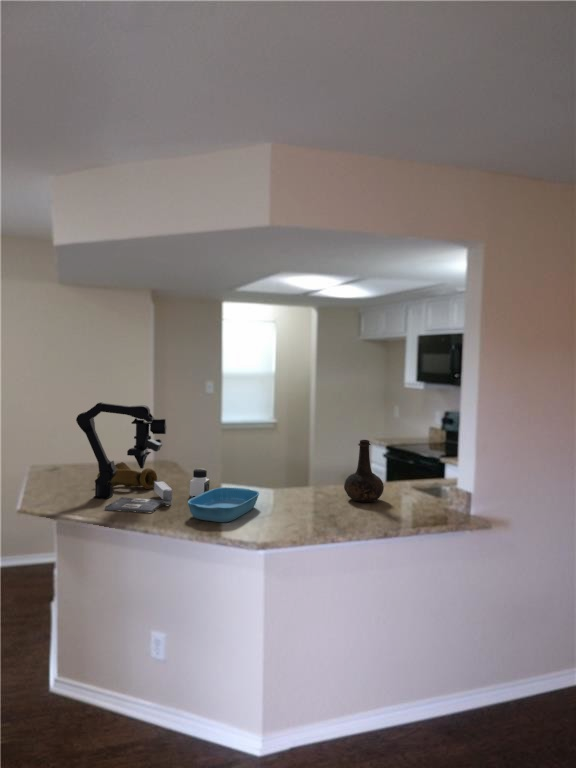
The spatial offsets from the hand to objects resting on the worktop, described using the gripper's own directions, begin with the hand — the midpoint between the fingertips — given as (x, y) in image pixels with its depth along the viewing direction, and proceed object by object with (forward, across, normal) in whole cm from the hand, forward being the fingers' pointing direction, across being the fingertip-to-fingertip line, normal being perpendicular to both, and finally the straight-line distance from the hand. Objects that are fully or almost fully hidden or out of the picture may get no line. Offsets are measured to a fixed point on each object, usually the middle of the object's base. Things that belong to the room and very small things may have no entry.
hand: (141, 468), depth 247 cm
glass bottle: (+13, +21, -99) cm, 102 cm away
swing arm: (+11, -3, -12) cm, 16 cm away
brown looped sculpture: (+13, +16, +14) cm, 25 cm away
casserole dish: (+14, -14, -42) cm, 46 cm away
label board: (+13, -15, -6) cm, 21 cm away
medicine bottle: (+13, +10, -24) cm, 29 cm away
